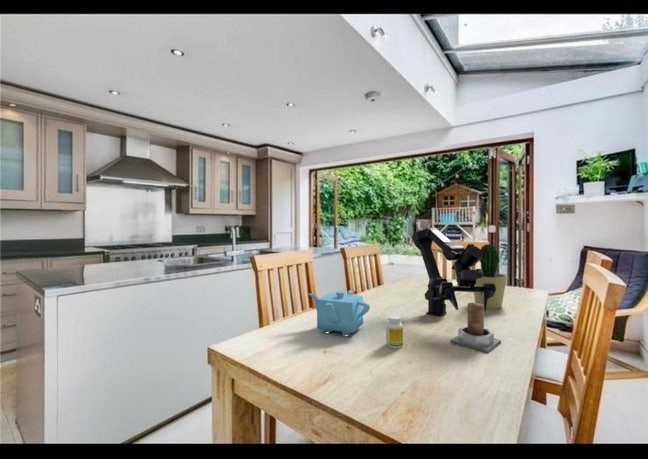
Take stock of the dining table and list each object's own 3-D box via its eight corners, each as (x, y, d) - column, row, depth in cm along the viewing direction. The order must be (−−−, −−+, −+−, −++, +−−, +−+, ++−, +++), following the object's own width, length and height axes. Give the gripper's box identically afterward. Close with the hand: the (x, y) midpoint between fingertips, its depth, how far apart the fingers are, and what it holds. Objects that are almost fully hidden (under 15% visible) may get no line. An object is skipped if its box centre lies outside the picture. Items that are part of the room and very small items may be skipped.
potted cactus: (507, 303, 163) (508, 242, 162) (505, 311, 150) (506, 244, 149) (473, 300, 171) (473, 241, 170) (468, 306, 158) (468, 243, 157)
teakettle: (373, 335, 121) (373, 295, 121) (325, 342, 115) (325, 299, 114) (351, 320, 139) (351, 285, 138) (308, 326, 132) (307, 288, 132)
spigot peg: (464, 339, 113) (465, 304, 112) (471, 336, 116) (471, 302, 116) (480, 343, 109) (480, 307, 109) (486, 339, 113) (486, 304, 112)
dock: (450, 343, 113) (450, 331, 113) (465, 334, 121) (465, 323, 121) (487, 353, 104) (487, 340, 104) (501, 342, 113) (501, 331, 113)
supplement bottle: (383, 344, 112) (383, 316, 112) (396, 341, 115) (396, 313, 114) (393, 349, 108) (393, 320, 107) (406, 347, 110) (406, 318, 110)
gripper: (441, 260, 124) (446, 297, 113) (495, 260, 121) (506, 298, 110) (437, 277, 132) (442, 313, 121) (487, 278, 129) (497, 315, 118)
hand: (471, 310), depth 118 cm, fingers open, 9 cm apart
